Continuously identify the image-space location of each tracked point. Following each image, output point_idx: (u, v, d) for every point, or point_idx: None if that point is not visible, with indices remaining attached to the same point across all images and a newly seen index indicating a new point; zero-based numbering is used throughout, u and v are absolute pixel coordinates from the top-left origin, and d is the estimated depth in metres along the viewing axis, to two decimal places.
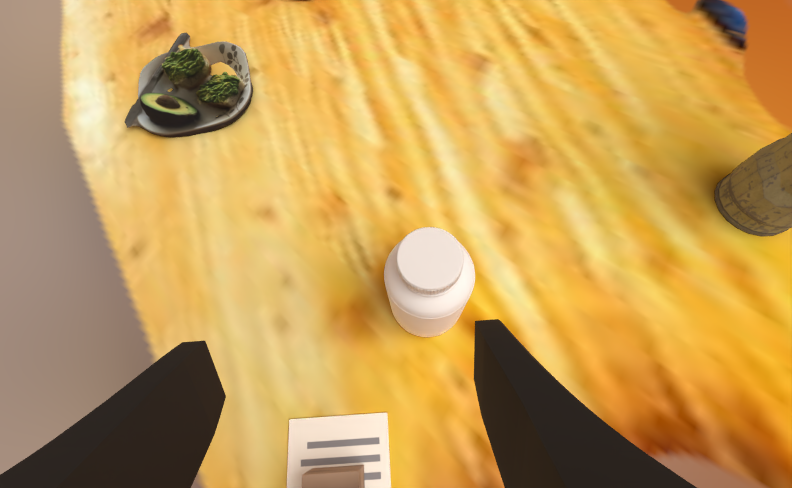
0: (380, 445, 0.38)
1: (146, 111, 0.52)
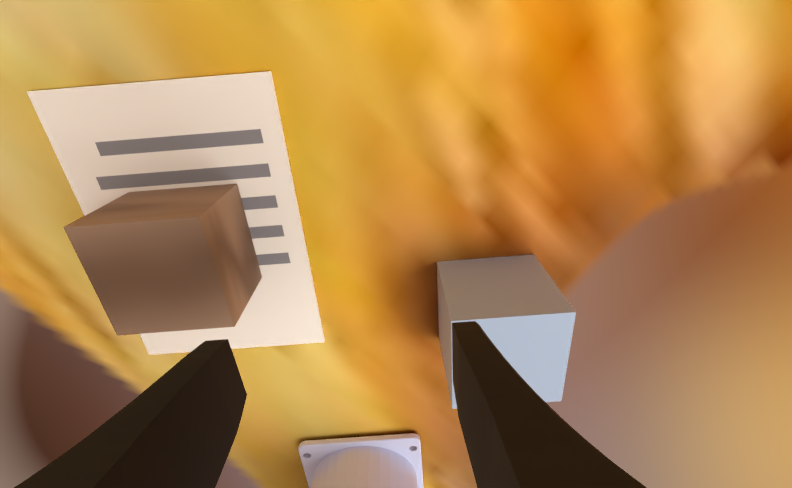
0: (266, 146, 0.17)
1: None
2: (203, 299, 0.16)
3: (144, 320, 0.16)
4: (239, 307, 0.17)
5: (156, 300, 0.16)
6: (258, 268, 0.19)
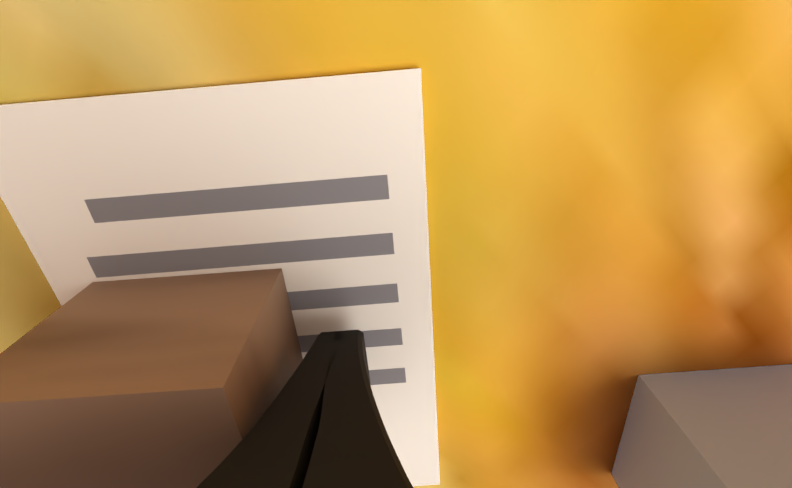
0: (393, 203, 0.09)
1: None
2: None
3: None
4: None
5: None
6: None
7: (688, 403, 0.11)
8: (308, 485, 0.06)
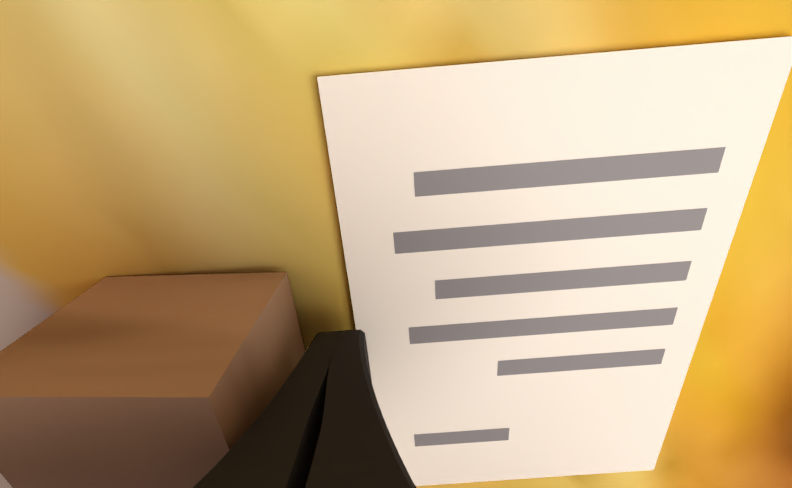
0: (719, 177, 0.09)
1: None
2: None
3: None
4: None
5: None
6: None
7: None
8: (311, 485, 0.06)
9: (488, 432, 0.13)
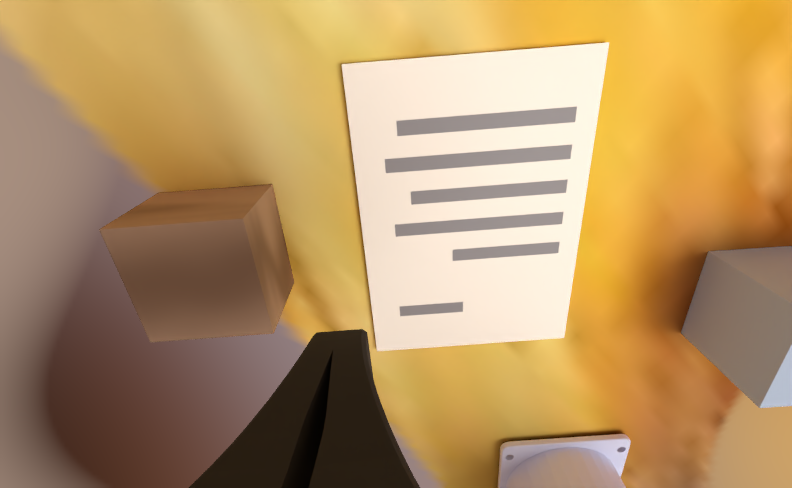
0: (576, 125, 0.16)
1: None
2: (242, 304, 0.15)
3: (179, 326, 0.15)
4: (277, 313, 0.16)
5: (193, 305, 0.15)
6: (291, 271, 0.19)
7: (744, 262, 0.18)
8: (314, 485, 0.06)
9: (448, 305, 0.20)
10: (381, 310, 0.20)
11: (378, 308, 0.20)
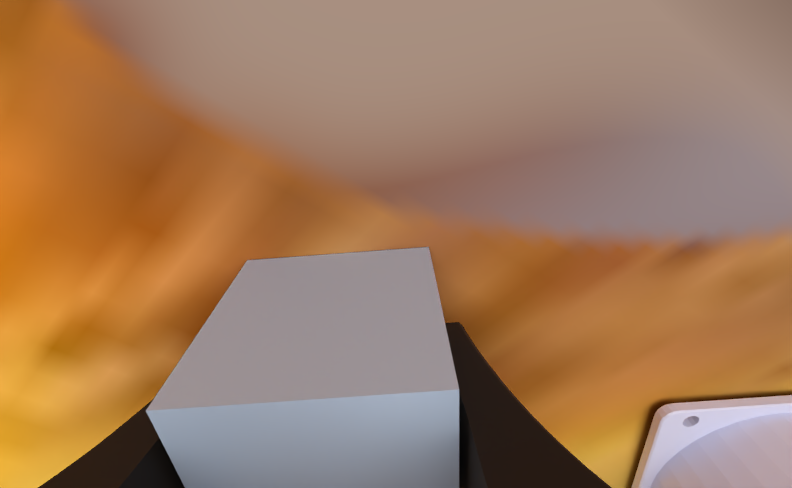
0: None
1: None
2: None
3: None
4: None
5: None
6: None
7: None
8: (488, 473, 0.05)
9: None
10: None
11: None
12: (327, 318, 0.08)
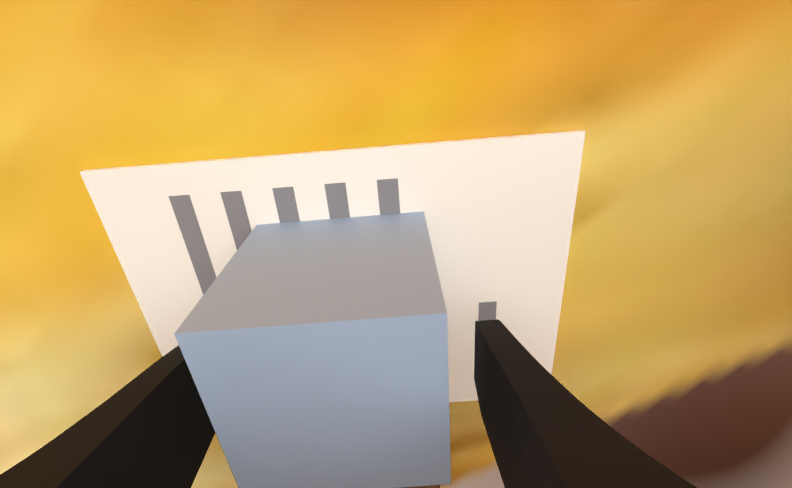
0: (193, 191, 0.11)
1: None
2: None
3: None
4: None
5: None
6: None
7: None
8: (562, 468, 0.05)
9: (482, 319, 0.13)
10: None
11: None
12: (331, 265, 0.09)
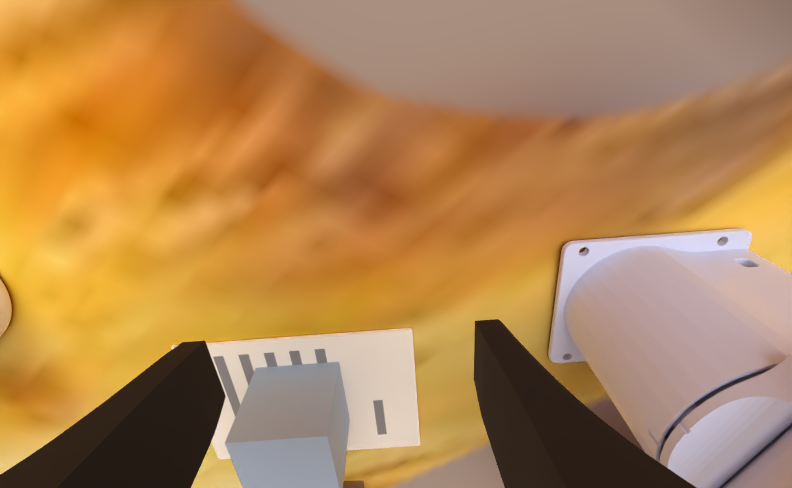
0: (225, 354, 0.23)
1: None
2: None
3: None
4: None
5: None
6: (355, 481, 0.29)
7: None
8: (562, 468, 0.05)
9: (376, 408, 0.25)
10: (381, 443, 0.26)
11: (379, 445, 0.27)
12: (288, 403, 0.21)
